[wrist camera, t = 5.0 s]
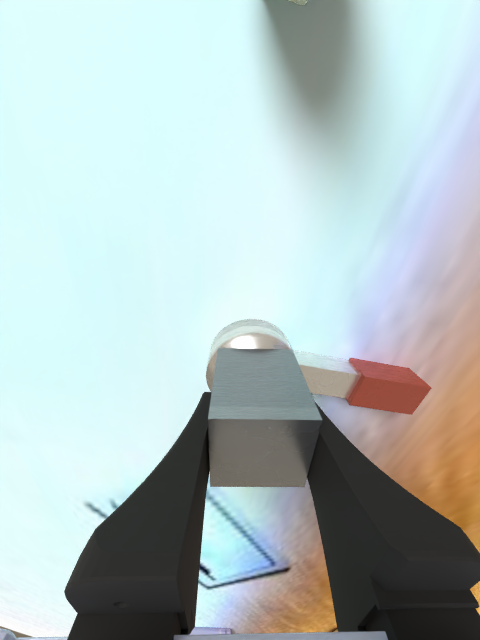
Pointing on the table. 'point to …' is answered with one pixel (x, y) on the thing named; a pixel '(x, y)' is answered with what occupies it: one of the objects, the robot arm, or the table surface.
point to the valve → (299, 1)
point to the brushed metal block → (260, 420)
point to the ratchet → (330, 370)
